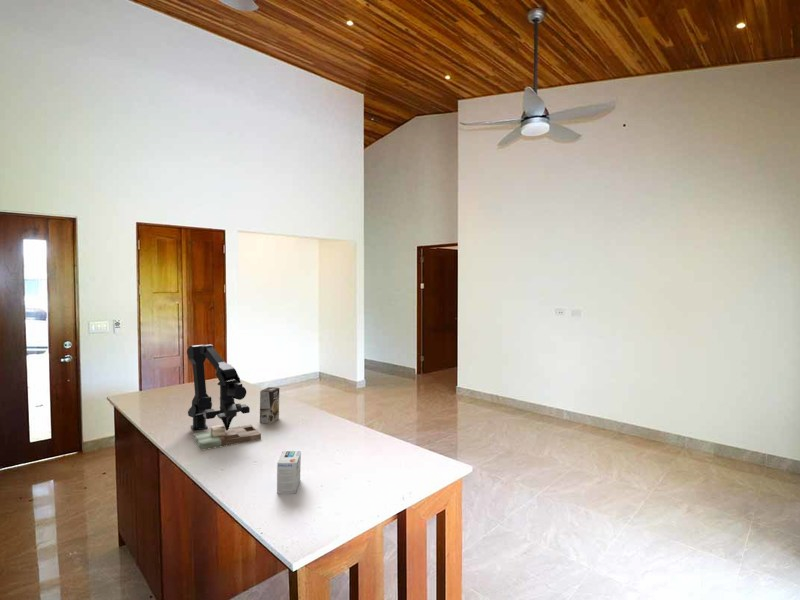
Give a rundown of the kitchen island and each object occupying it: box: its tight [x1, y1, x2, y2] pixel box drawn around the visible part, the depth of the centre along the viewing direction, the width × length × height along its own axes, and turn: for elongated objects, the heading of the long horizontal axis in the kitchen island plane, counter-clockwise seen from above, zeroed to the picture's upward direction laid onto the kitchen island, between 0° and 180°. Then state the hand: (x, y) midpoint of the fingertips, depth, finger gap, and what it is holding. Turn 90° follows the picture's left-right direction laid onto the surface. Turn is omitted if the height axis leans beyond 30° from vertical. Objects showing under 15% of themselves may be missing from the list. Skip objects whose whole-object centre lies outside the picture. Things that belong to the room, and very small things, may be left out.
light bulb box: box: [276, 450, 302, 495], centre depth 156 cm, size 11×7×11 cm, turn 5°
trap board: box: [193, 424, 262, 451], centre depth 200 cm, size 15×25×2 cm, turn 125°
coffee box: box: [259, 386, 280, 424], centre depth 227 cm, size 9×6×16 cm
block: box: [210, 424, 225, 437], centre depth 199 cm, size 5×5×3 cm
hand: (226, 430), depth 201 cm, fingers closed
